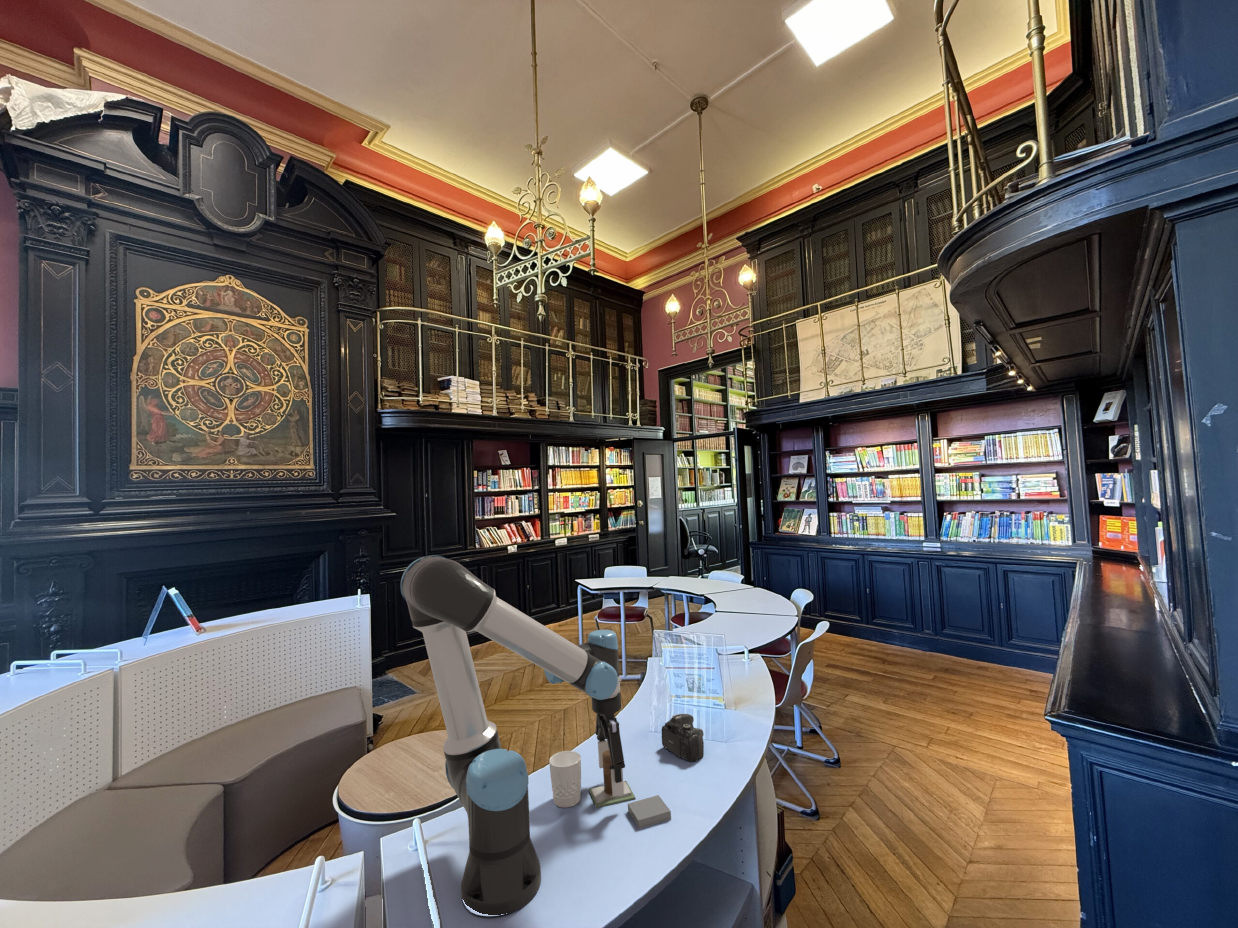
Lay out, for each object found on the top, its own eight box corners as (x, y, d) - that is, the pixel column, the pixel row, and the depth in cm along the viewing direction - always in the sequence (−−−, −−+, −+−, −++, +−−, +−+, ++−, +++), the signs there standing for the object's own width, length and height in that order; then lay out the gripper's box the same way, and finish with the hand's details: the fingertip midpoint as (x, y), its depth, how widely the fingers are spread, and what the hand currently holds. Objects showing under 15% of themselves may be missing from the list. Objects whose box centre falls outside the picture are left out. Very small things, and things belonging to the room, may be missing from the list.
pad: (596, 807, 122) (595, 806, 122) (589, 790, 130) (588, 788, 130) (635, 798, 125) (635, 797, 125) (626, 781, 133) (626, 780, 133)
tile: (628, 812, 120) (639, 830, 114) (627, 803, 121) (638, 820, 114) (659, 804, 123) (671, 820, 116) (658, 794, 123) (670, 810, 117)
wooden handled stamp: (596, 803, 124) (594, 762, 124) (591, 791, 129) (589, 751, 130) (631, 794, 126) (629, 754, 127) (625, 783, 132) (622, 745, 132)
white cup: (589, 797, 127) (587, 756, 127) (565, 813, 121) (563, 769, 122) (568, 787, 132) (566, 747, 133) (544, 801, 126) (542, 760, 127)
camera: (711, 749, 147) (709, 714, 148) (696, 765, 139) (693, 727, 140) (672, 739, 155) (669, 705, 156) (654, 753, 147) (652, 717, 148)
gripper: (634, 709, 118) (640, 803, 117) (608, 675, 142) (612, 753, 141) (603, 714, 116) (608, 811, 115) (581, 679, 140) (586, 759, 139)
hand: (610, 779), depth 128 cm, fingers open, 13 cm apart
